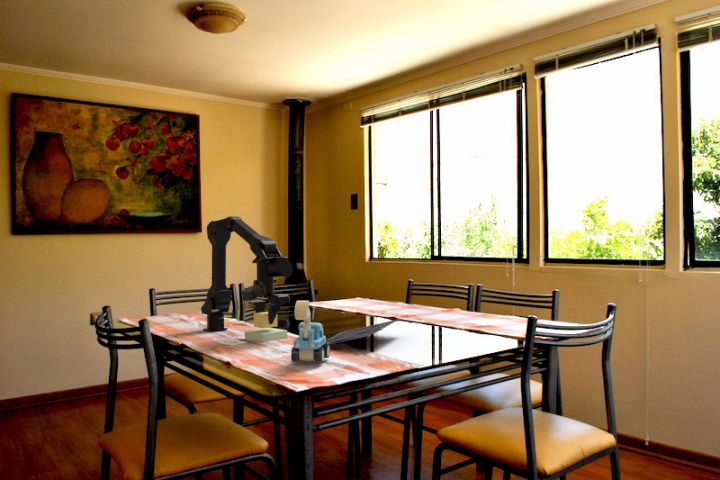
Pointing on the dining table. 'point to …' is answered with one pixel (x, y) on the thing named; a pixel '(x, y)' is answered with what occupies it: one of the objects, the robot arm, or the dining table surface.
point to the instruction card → (232, 342)
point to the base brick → (265, 334)
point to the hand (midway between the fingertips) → (265, 323)
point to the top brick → (263, 320)
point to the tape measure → (282, 324)
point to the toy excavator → (308, 337)
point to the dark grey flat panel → (358, 333)
